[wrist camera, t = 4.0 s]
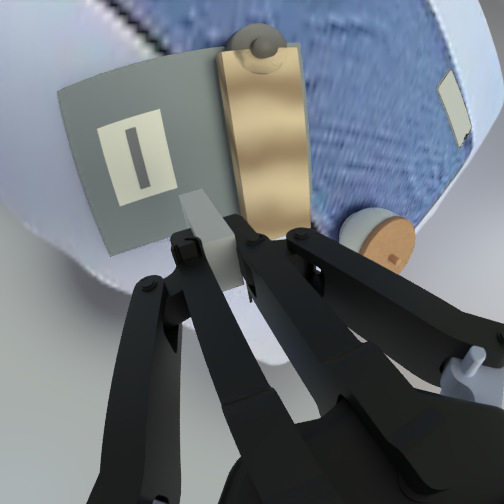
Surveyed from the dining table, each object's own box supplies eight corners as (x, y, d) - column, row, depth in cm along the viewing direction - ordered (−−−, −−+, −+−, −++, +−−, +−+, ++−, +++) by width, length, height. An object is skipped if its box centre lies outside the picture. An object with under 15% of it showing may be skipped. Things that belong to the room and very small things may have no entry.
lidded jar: (329, 201, 36) (378, 233, 29) (385, 192, 39) (431, 219, 32) (321, 268, 42) (359, 307, 34) (373, 253, 45) (412, 284, 37)
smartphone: (451, 66, 31) (472, 127, 40) (448, 66, 32) (469, 126, 40) (436, 88, 32) (459, 150, 41) (433, 88, 33) (456, 149, 42)
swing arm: (211, 30, 19) (221, 22, 16) (283, 27, 20) (300, 21, 18) (244, 237, 31) (255, 252, 28) (301, 220, 33) (316, 232, 30)
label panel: (58, 86, 18) (52, 86, 16) (294, 39, 24) (304, 37, 22) (110, 252, 28) (109, 262, 27) (308, 192, 34) (317, 198, 32)
